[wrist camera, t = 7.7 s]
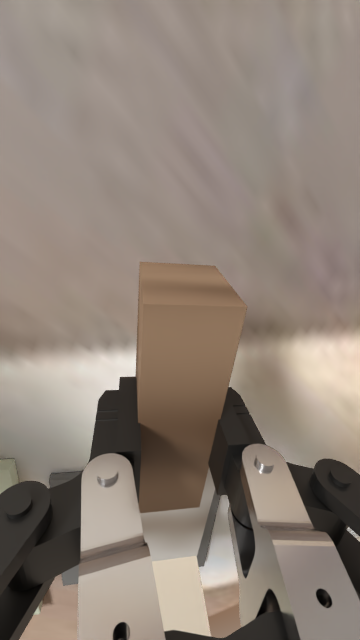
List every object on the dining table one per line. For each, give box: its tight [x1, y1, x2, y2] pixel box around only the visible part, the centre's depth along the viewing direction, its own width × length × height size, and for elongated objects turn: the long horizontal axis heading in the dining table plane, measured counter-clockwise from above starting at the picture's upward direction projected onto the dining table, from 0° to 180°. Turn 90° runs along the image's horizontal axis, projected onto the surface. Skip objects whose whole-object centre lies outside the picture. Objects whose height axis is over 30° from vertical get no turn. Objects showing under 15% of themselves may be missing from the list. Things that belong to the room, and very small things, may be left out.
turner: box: [136, 262, 247, 562], centre depth 13 cm, size 19×6×3 cm, turn 175°
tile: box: [152, 556, 211, 637], centre depth 21 cm, size 8×2×10 cm, turn 85°
